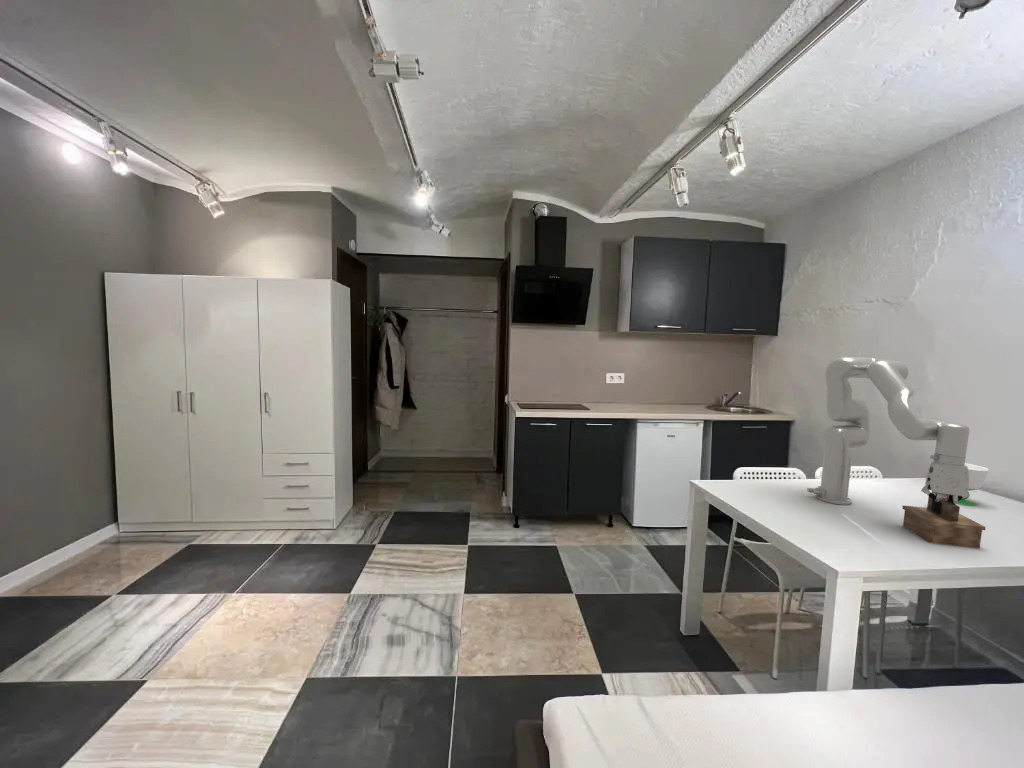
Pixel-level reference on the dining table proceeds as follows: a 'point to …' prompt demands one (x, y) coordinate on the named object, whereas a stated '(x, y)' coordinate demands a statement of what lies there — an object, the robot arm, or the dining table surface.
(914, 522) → the box
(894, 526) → the dining table surface
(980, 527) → the lid
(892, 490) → the dining table surface
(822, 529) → the dining table surface
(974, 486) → the white green footed bowl
